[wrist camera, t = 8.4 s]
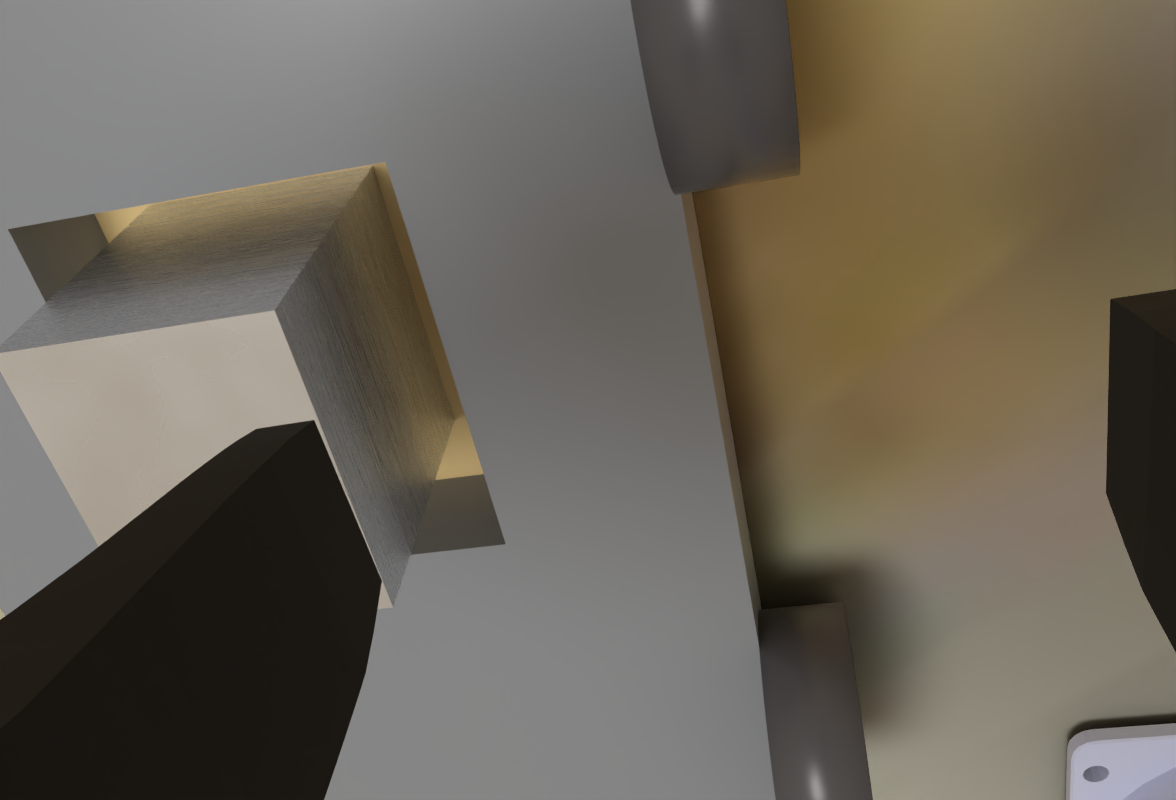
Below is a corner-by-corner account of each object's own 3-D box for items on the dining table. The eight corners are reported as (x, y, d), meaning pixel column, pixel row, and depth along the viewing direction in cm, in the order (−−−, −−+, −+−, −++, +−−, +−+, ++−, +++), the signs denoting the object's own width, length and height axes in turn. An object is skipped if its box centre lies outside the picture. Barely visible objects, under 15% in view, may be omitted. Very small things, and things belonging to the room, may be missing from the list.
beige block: (454, 419, 20) (392, 607, 16) (255, 446, 21) (147, 633, 17) (372, 165, 18) (274, 309, 14) (149, 205, 19) (-10, 354, 14)
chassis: (856, 738, 25) (889, 952, 20) (155, 790, 28) (58, 986, 23) (734, -307, 14) (751, -308, 10) (-360, -42, 17) (-696, 42, 13)
